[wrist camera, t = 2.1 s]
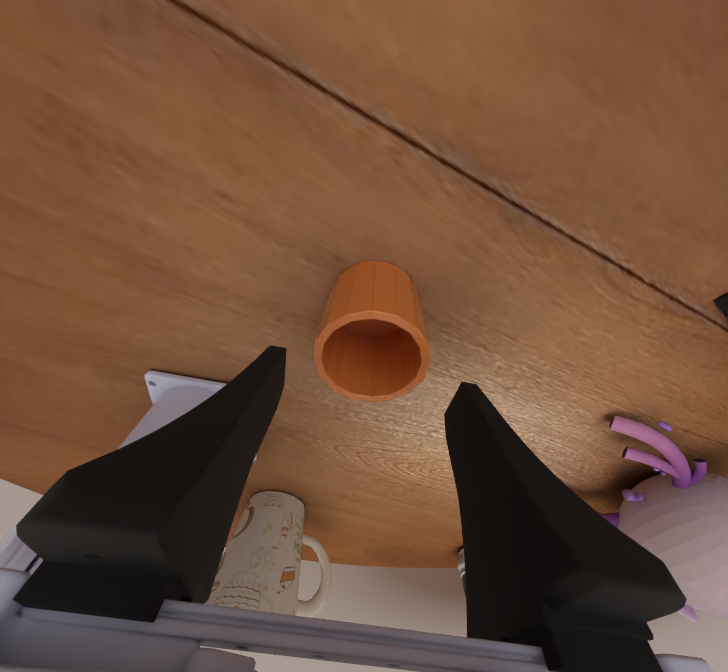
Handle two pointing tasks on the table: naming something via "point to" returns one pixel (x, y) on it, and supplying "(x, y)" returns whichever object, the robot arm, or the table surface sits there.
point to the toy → (678, 519)
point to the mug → (269, 560)
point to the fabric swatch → (723, 304)
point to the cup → (372, 334)
